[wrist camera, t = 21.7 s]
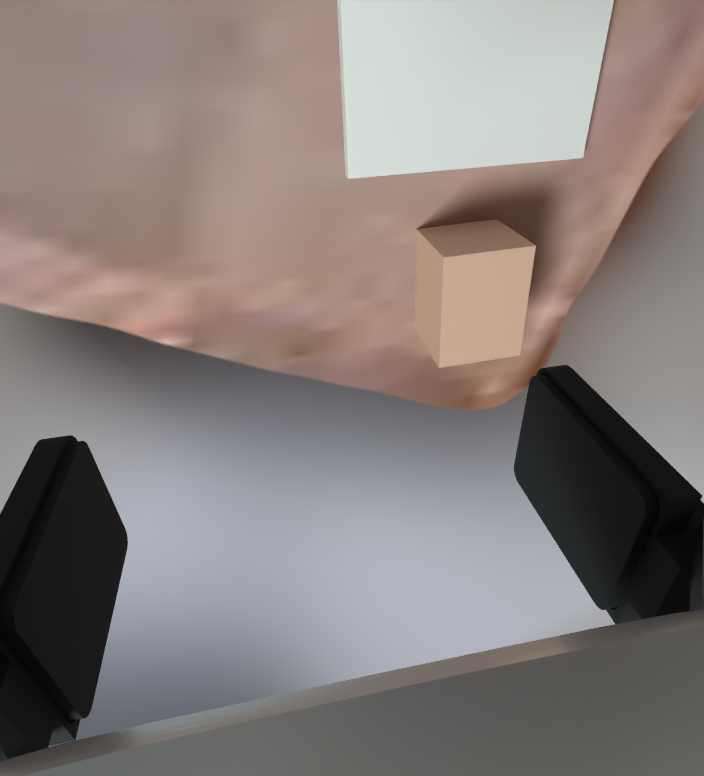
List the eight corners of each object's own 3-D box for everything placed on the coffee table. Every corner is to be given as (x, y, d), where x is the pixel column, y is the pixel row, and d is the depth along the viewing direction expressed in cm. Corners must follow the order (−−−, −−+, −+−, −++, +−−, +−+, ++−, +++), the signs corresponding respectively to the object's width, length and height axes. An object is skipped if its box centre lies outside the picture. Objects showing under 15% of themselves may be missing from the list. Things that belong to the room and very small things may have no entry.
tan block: (415, 228, 36) (443, 257, 31) (496, 218, 37) (536, 245, 32) (414, 328, 41) (439, 367, 36) (486, 318, 41) (519, 355, 36)
